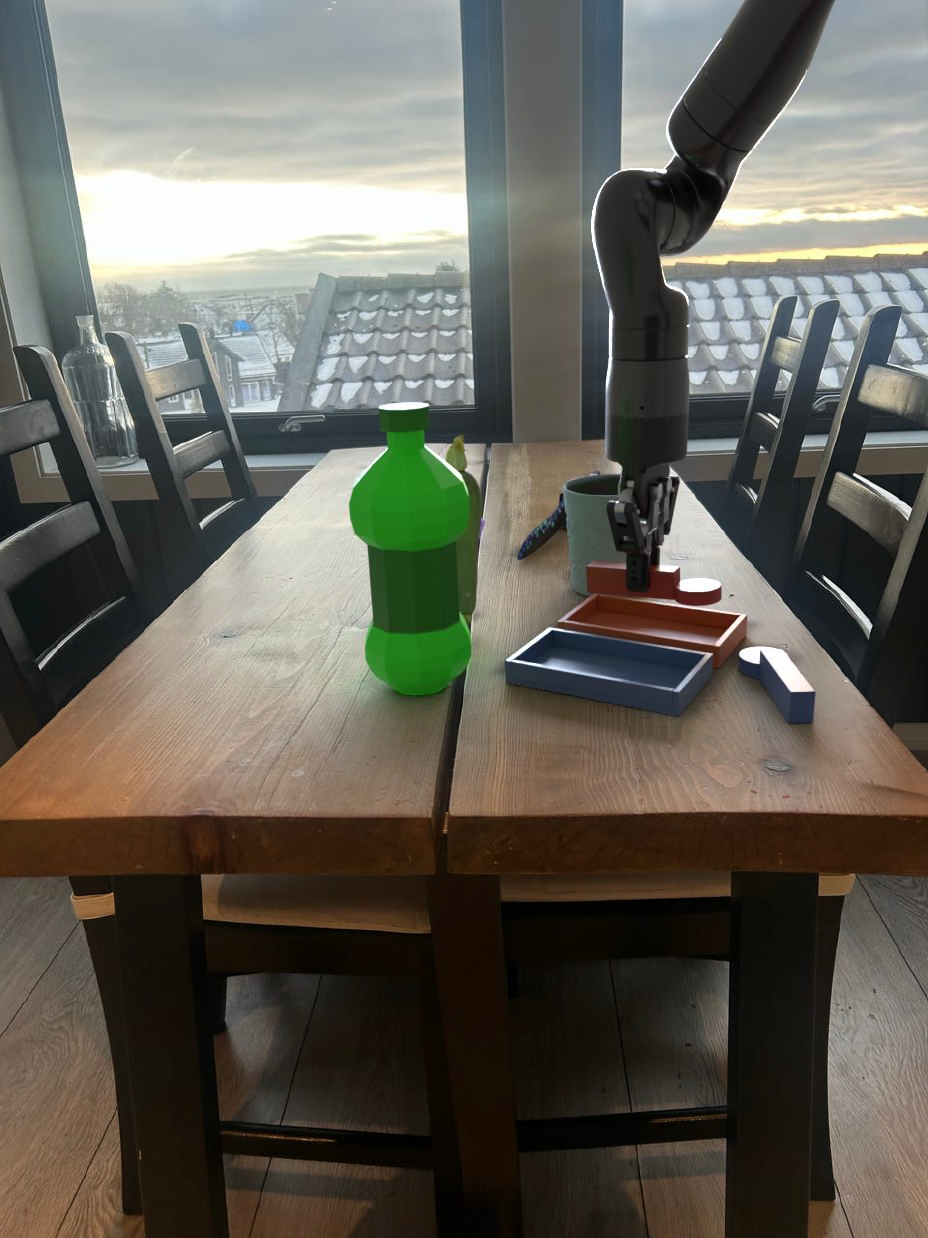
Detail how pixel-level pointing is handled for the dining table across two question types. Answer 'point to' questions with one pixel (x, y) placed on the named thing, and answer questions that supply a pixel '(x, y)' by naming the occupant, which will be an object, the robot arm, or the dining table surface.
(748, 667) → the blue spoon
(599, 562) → the red bar with disc
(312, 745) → the dining table surface
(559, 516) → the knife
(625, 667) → the blue tray
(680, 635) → the red tray
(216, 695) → the dining table surface
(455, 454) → the vegetable
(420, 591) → the plastic bottle
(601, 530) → the green cup
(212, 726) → the dining table surface
